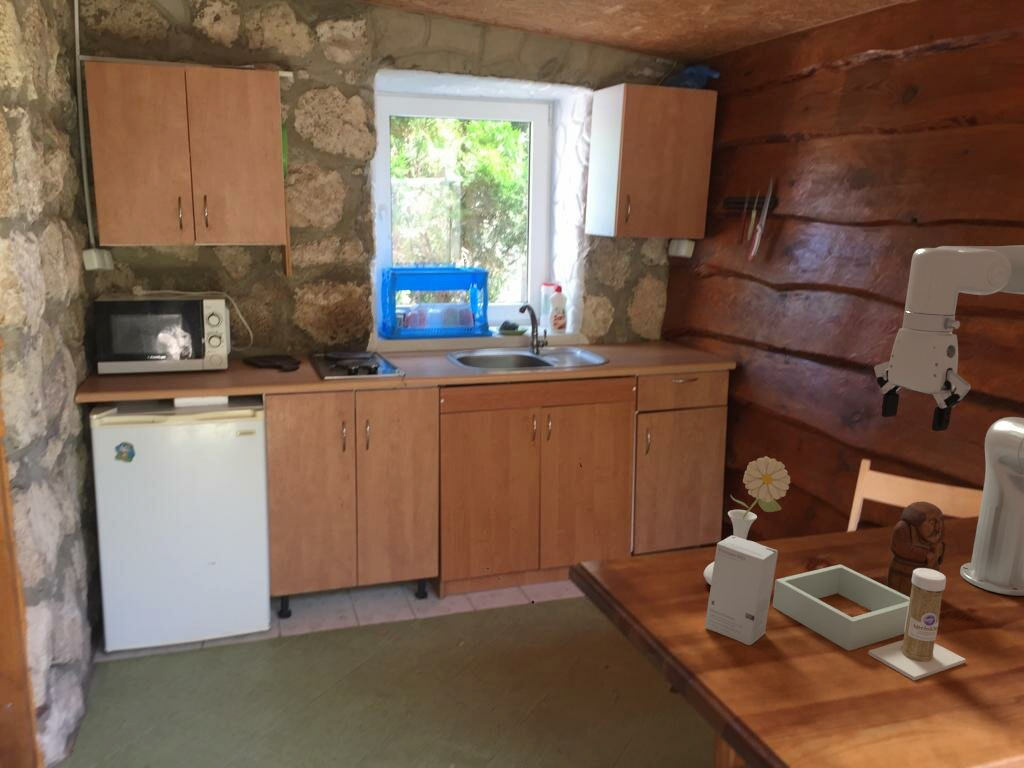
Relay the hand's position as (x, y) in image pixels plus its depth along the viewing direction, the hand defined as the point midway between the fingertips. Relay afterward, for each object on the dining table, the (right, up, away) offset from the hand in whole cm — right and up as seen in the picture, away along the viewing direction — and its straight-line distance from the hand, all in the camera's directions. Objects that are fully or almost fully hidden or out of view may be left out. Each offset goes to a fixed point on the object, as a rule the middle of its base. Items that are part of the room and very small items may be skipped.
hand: (913, 423), depth 142 cm
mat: (-6, -36, -14) cm, 39 cm away
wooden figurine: (+3, -32, +7) cm, 33 cm away
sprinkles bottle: (-6, -35, -14) cm, 38 cm away
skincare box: (-32, -34, -8) cm, 47 cm away
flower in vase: (-27, -30, +8) cm, 42 cm away
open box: (-13, -33, -2) cm, 35 cm away
